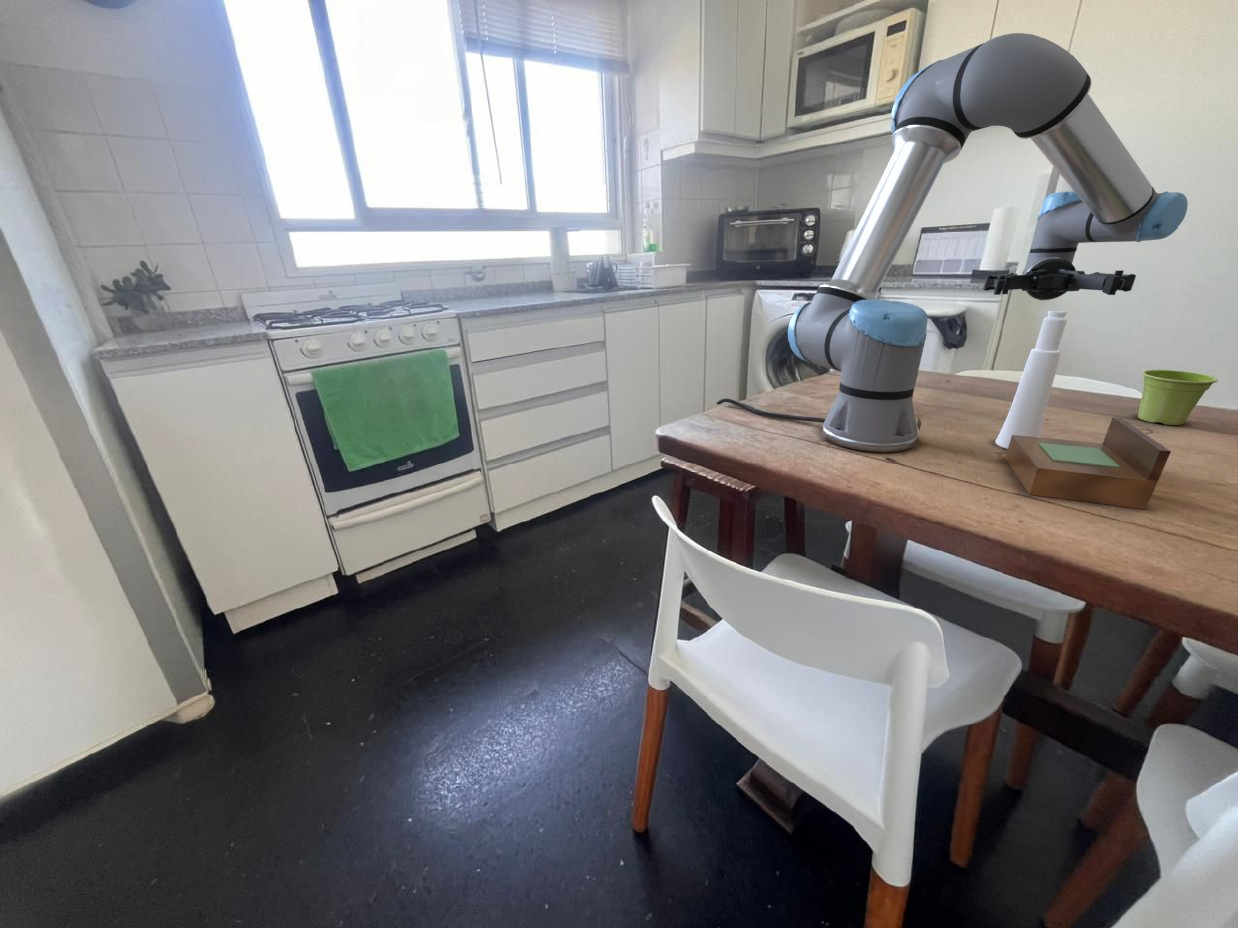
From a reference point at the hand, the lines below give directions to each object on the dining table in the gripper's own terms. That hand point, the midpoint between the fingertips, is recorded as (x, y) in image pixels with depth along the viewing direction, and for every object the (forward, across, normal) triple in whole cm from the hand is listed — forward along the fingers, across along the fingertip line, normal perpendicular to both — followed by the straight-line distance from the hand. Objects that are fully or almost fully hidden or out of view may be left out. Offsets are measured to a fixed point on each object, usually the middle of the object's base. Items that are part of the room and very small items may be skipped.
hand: (1058, 286), depth 81 cm
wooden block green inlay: (+23, -5, -25) cm, 34 cm away
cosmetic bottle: (+10, 0, -25) cm, 27 cm away
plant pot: (-19, -22, -25) cm, 39 cm away
